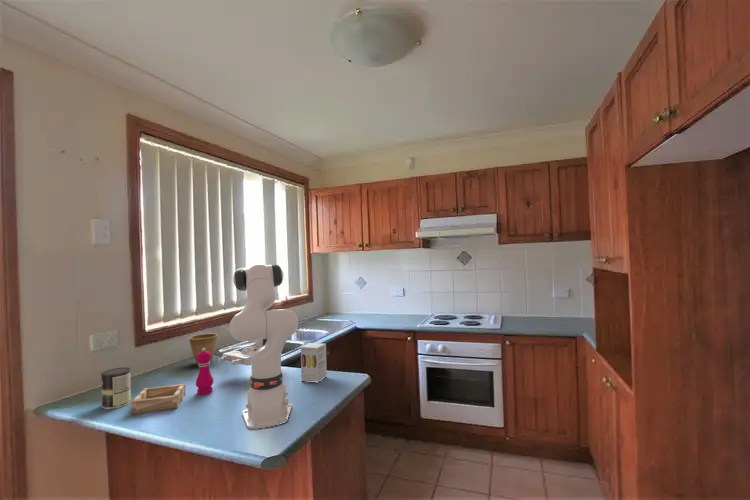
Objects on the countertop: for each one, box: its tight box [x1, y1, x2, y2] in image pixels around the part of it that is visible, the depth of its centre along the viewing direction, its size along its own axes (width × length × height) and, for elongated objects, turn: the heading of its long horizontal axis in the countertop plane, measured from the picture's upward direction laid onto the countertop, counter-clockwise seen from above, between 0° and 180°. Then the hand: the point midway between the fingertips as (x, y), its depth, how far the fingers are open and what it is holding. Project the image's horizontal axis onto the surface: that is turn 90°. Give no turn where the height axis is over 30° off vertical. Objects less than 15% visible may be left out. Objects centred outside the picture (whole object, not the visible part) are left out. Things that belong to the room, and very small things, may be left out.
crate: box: [130, 383, 186, 416], centre depth 153 cm, size 16×16×5 cm
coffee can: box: [100, 366, 132, 410], centre depth 155 cm, size 10×10×14 cm
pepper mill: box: [195, 348, 214, 396], centre depth 166 cm, size 7×7×20 cm
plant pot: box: [188, 333, 218, 366], centre depth 213 cm, size 15×15×16 cm
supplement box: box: [300, 342, 328, 381], centre depth 178 cm, size 10×9×17 cm
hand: (225, 362), depth 175 cm, fingers open, 8 cm apart
